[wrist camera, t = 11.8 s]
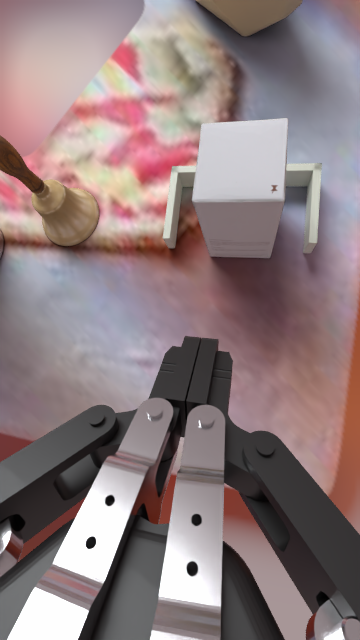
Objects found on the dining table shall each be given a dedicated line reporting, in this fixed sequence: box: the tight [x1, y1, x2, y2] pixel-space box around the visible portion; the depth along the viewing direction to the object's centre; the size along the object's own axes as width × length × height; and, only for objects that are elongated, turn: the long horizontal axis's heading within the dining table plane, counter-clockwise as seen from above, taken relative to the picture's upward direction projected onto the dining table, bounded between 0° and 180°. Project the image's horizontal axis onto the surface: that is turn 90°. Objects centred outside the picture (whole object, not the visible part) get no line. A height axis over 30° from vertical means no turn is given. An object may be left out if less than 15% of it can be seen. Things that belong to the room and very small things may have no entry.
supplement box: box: [192, 118, 288, 258], centre depth 30 cm, size 7×7×13 cm
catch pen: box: [163, 163, 322, 253], centre depth 35 cm, size 9×17×3 cm, turn 83°
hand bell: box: [0, 136, 99, 246], centre depth 34 cm, size 8×8×16 cm
